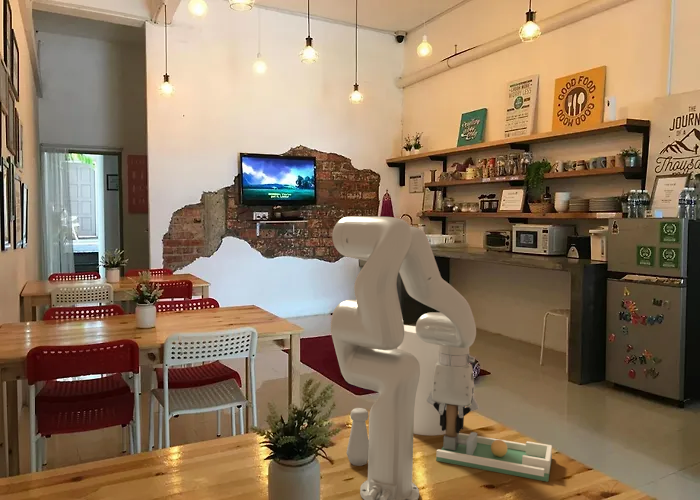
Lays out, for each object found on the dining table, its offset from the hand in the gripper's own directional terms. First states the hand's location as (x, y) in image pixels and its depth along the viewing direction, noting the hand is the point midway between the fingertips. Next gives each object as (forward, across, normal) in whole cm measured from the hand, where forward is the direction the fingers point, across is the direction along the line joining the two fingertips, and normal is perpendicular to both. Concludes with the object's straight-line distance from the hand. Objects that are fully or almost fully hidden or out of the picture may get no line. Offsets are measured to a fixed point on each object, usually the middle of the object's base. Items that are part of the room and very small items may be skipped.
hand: (451, 429), depth 144 cm
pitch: (+6, -11, 0) cm, 12 cm away
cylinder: (+6, +11, -16) cm, 20 cm away
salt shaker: (+6, +19, +16) cm, 26 cm away
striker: (+4, -2, 0) cm, 5 cm away
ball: (+3, -12, 0) cm, 12 cm away
